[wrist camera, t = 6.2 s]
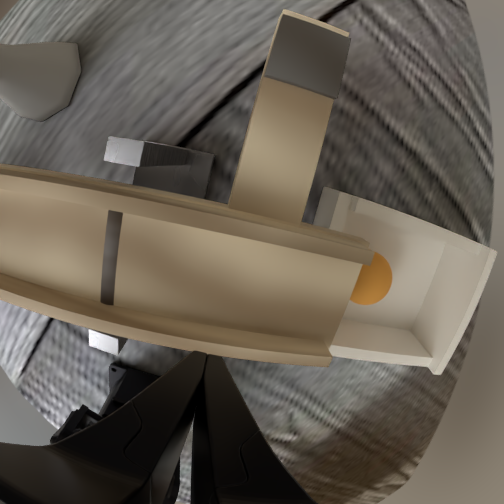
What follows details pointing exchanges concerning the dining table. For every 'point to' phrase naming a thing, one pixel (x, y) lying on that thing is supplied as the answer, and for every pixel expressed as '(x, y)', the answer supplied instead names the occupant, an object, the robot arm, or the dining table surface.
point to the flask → (38, 77)
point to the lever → (200, 233)
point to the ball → (372, 282)
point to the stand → (156, 177)
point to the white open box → (407, 284)
